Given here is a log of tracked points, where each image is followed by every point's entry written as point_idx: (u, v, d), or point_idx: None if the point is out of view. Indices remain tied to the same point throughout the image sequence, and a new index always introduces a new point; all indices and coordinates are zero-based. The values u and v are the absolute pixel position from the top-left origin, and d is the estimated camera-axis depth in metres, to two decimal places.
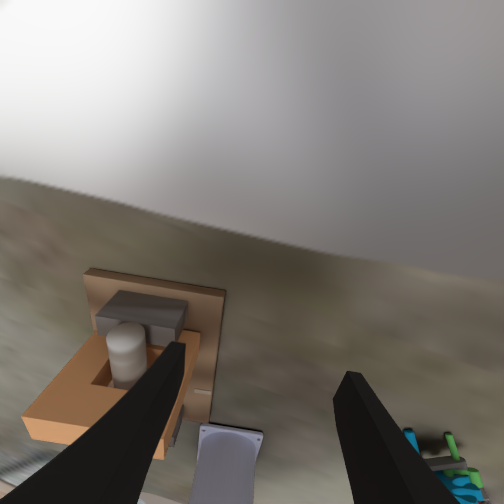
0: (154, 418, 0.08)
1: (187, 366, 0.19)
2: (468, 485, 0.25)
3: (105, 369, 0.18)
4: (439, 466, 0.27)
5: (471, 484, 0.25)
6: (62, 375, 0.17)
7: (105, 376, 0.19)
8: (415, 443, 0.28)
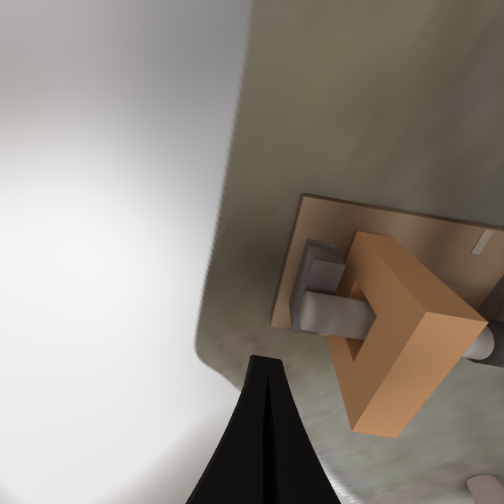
0: None
1: (376, 255, 0.14)
2: None
3: (354, 343, 0.16)
4: None
5: None
6: (340, 380, 0.16)
7: None
8: None
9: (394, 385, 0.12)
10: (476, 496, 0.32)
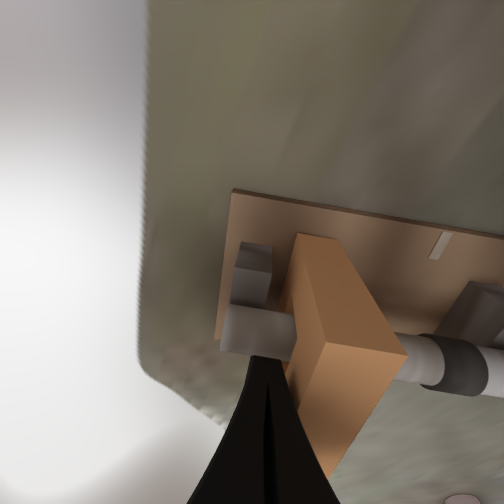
0: None
1: (304, 262, 0.12)
2: None
3: (288, 364, 0.14)
4: None
5: None
6: None
7: None
8: None
9: (307, 427, 0.09)
10: None
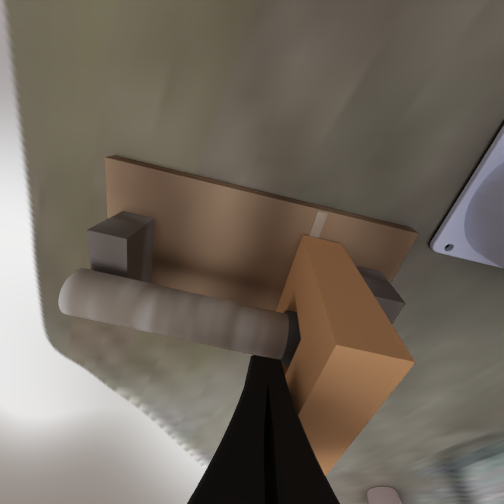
0: None
1: (310, 264, 0.12)
2: None
3: None
4: None
5: None
6: None
7: None
8: None
9: (308, 428, 0.09)
10: None
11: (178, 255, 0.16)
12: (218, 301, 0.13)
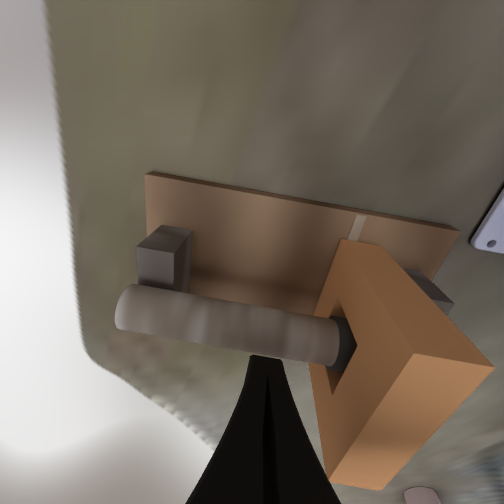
0: None
1: (359, 269, 0.12)
2: None
3: None
4: None
5: None
6: (318, 414, 0.14)
7: None
8: None
9: (375, 436, 0.09)
10: None
11: (215, 265, 0.17)
12: (266, 310, 0.13)
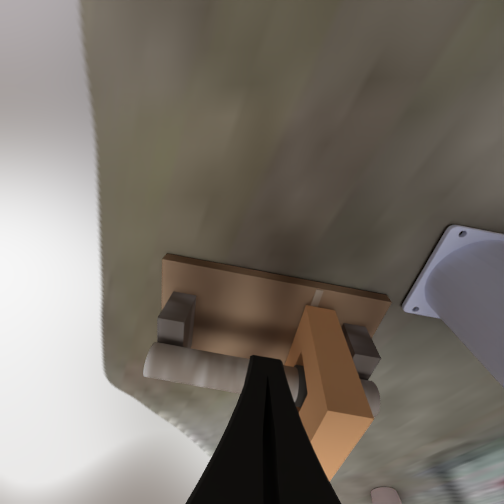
0: None
1: (312, 338, 0.17)
2: None
3: None
4: None
5: None
6: None
7: None
8: None
9: None
10: None
11: (213, 319, 0.22)
12: None
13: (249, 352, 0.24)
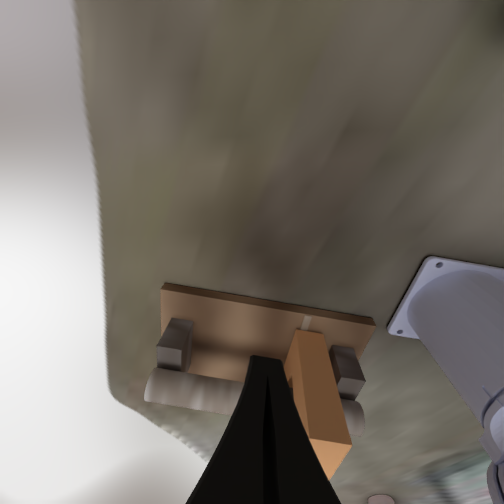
0: None
1: (300, 364, 0.19)
2: None
3: None
4: None
5: None
6: None
7: None
8: None
9: None
10: None
11: (209, 342, 0.23)
12: (242, 387, 0.19)
13: (244, 371, 0.25)
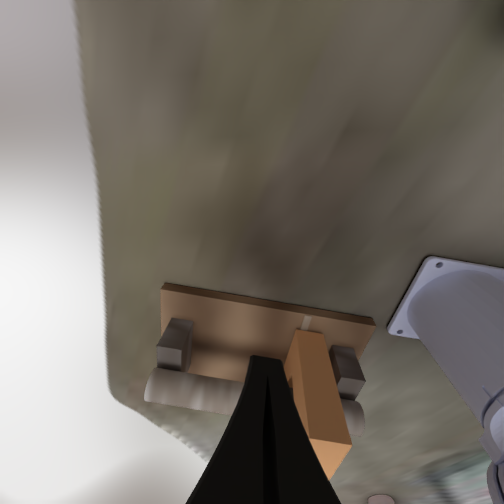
0: None
1: (300, 364, 0.19)
2: None
3: None
4: None
5: None
6: None
7: None
8: None
9: None
10: None
11: (209, 342, 0.23)
12: (242, 387, 0.19)
13: (244, 371, 0.25)
